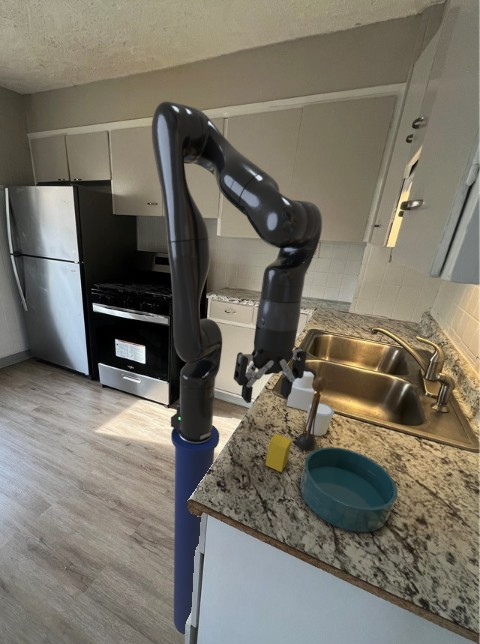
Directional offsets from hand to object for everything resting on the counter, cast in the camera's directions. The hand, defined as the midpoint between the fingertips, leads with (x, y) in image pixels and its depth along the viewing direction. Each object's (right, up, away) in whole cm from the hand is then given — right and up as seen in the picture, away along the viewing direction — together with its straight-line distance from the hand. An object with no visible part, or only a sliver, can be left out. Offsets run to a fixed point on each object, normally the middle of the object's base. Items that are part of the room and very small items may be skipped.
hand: (265, 398), depth 65 cm
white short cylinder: (+20, -11, +24) cm, 33 cm away
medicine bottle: (+19, -5, +36) cm, 41 cm away
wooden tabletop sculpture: (+15, -14, +18) cm, 27 cm away
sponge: (+5, -17, +10) cm, 20 cm away
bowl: (+17, -21, +2) cm, 27 cm away
